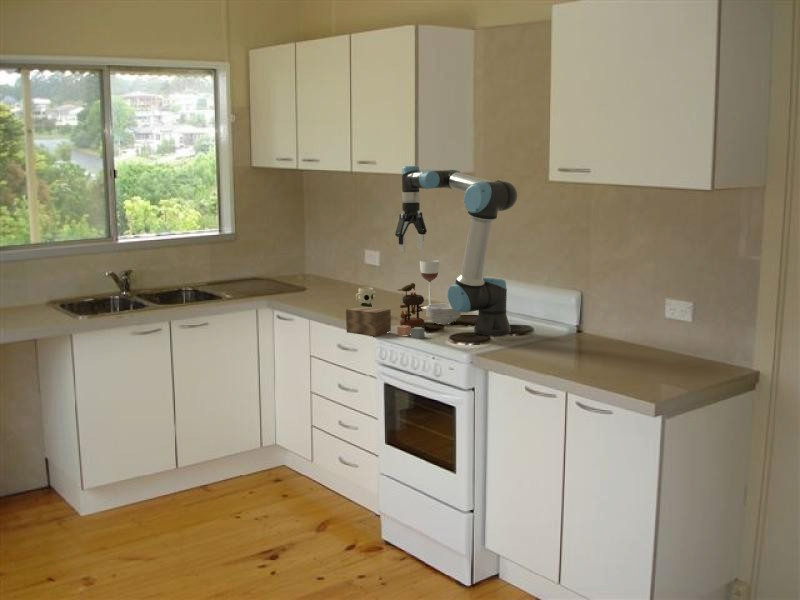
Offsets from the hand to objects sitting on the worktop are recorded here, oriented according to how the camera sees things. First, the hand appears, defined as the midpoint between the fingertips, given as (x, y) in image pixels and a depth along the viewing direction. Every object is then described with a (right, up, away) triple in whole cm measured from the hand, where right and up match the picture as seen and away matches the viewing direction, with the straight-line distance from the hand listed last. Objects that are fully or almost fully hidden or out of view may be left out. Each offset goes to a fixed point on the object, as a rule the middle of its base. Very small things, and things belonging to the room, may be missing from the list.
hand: (411, 250), depth 402 cm
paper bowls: (+14, -32, +7) cm, 36 cm away
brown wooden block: (-18, -35, -13) cm, 42 cm away
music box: (+1, -34, -3) cm, 34 cm away
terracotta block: (-3, -37, -21) cm, 42 cm away
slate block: (+2, -37, -25) cm, 45 cm away
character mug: (-21, -29, +27) cm, 45 cm away
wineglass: (+10, -26, +49) cm, 56 cm away
